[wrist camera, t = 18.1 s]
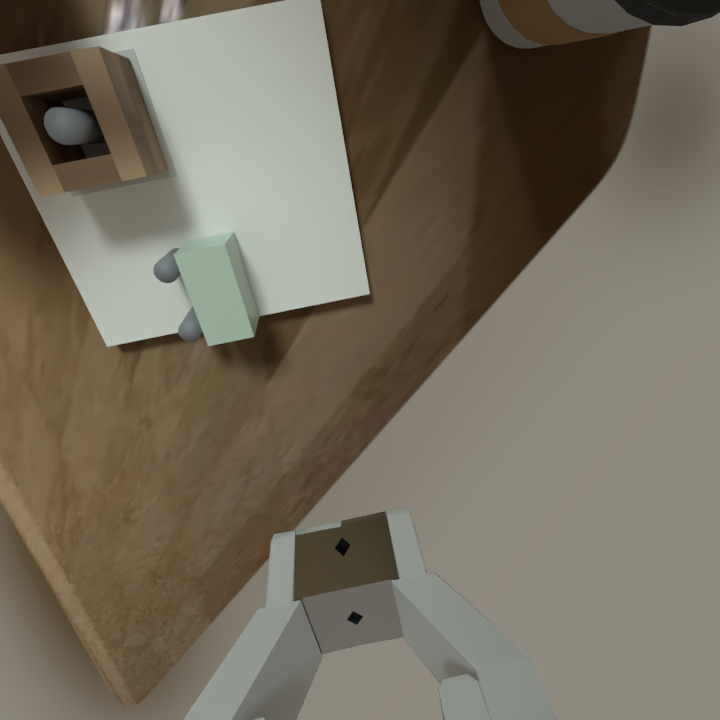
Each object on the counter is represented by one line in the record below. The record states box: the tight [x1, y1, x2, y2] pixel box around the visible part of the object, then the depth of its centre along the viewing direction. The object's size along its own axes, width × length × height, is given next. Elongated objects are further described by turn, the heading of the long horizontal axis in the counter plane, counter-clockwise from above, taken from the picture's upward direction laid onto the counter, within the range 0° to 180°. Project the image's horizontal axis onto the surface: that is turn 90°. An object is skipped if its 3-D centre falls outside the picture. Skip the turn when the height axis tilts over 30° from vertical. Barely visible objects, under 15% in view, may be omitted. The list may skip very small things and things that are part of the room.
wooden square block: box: [0, 46, 168, 197], centre depth 23 cm, size 6×6×4 cm
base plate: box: [0, 0, 370, 347], centre depth 26 cm, size 17×19×6 cm
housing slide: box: [173, 232, 260, 346], centre depth 28 cm, size 6×3×4 cm, turn 10°
